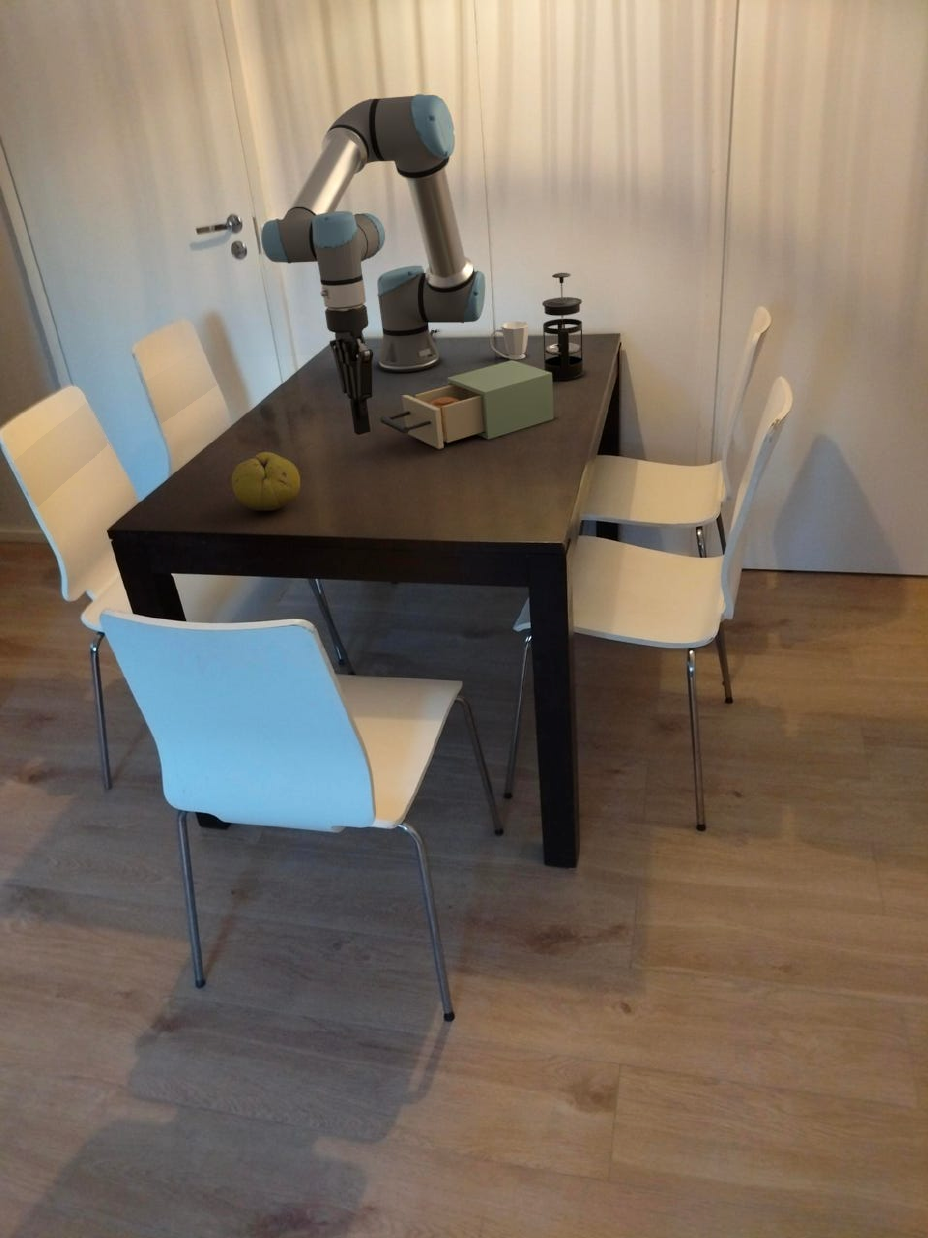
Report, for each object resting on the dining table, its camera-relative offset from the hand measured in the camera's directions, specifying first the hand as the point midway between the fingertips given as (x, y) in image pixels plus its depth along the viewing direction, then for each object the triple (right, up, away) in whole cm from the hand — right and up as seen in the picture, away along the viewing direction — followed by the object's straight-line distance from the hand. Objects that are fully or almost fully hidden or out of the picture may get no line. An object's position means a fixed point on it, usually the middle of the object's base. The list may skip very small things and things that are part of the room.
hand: (362, 432), depth 179 cm
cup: (+31, +30, +58) cm, 73 cm away
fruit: (-15, -16, -12) cm, 25 cm away
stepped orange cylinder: (+16, +3, +11) cm, 20 cm away
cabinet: (+27, +6, +18) cm, 33 cm away
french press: (+43, +22, +42) cm, 64 cm away
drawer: (+15, +1, +11) cm, 18 cm away
